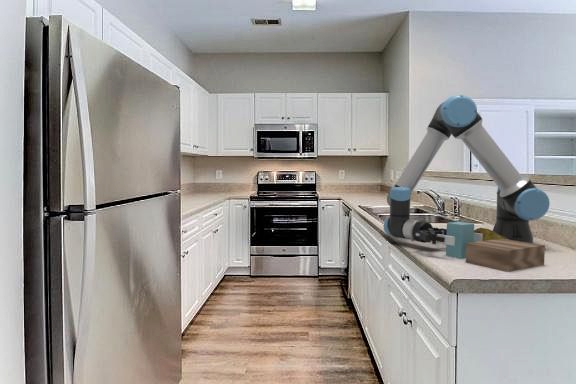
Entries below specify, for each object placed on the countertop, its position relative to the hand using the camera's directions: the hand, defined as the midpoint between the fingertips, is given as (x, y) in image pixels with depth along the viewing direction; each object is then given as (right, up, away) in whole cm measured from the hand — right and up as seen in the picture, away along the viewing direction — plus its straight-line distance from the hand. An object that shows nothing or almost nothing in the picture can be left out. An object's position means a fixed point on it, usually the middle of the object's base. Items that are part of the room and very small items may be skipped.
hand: (468, 239), depth 140 cm
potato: (+14, -6, +13) cm, 20 cm away
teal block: (-2, -6, +3) cm, 7 cm away
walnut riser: (+8, -7, -7) cm, 13 cm away
